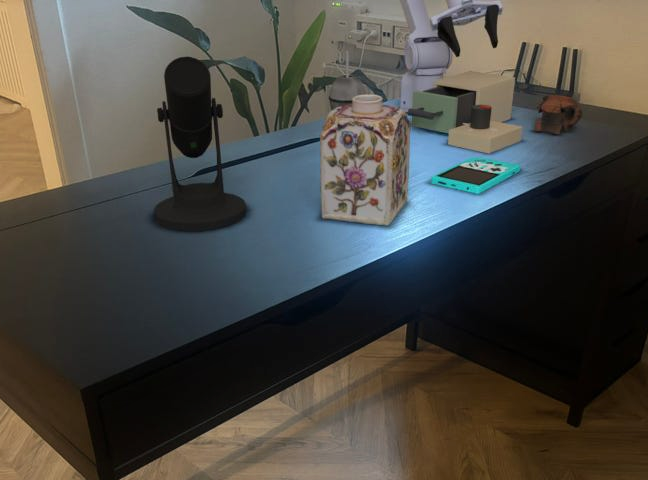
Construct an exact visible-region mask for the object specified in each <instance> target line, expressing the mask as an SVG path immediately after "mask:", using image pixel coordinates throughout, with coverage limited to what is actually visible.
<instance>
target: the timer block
mask: <svg viewBox="0 0 648 480" xmlns="http://www.w3.org/2000/svg"><path fill="white" fill-rule="evenodd" d="M463 124H466V125H463V126H460V127H457V128H454V129H451V130H449V134H448V138H447V139H448V140H447V145H448V146H452V147H457V148H462V149H467V150H470V151H476V152H478V153H479V152H480V153H484V154H487V155H488V154H492V153H494V152H497V151H499V150H502V149H505V148H507V147H509V146H512V145H514V144H517V143H519V142H522V135H523V126H521V125H515V124H510V123H505V122H495V121H490V127H489V128H488V129H474V128H471V127H470V123H468V124H467V123H463Z"/></svg>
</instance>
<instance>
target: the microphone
mask: <svg viewBox="0 0 648 480" xmlns="http://www.w3.org/2000/svg"><path fill="white" fill-rule="evenodd" d="M165 67H166V68H165V70H164V73H163V79H164V80H163V81H164V87H165V88H164V89H165V95H166V101H165V100H163V101H162V103H161V104H162V107H157V108H156V112H157V121H158V122H159V123H164V129H165V130H164V131H165V137H166V146H167V153H168V164H169V170H170V171H169V172H170V180H171V186H172V187H171V188H172V195H173V196H170V197H167V198H165V199H164V200H161V201H160V202H158V203H157V204H156V205H155V207H154V210H153V211H154V212H153V213H154V218H155V222H156V223H157V224H158V225H160V226H161V227H164V228H166V229H170V230H175V231H180V232H205V231H211V230H217V229H222V228H227V227H229V226H231V225H234V224H236V223H239V222H240V221H241V220H242V219H244V218H245V216H246V214H247V204H246V201H245V199H243V198H242V197H240V196H239V195H236V194H233V193H228V192H225V189H224V178H223V168H222V167H223V166H222V156H221V142H220V133H219V119H222V118H223V117H224V111H223V105H222V104H221V103H218V104H217V100H216V97H212V79H211V78H212V77H211V72H210V69H209V68H208V67H207V64H205V63H204V62H203V61H202V60H200V59H198V58H196V57H192V56H180V57H176V58H174V59H172V61H170V62H169V63H168V64H167V66H165ZM169 126H170V127H169ZM213 132H214V139H215V140H214V141H215V149H216V150H215V152H216V175H215V176H216V177H215V179H214V181H213V182H197V183H189V184H188V183H187V184H181V183H180V182H179V180H178V178H177V174H176V170H175V164H174V161H173V151H172V143H173V144H174V146H175V147H176V148H177V149H178V151H179V153H181V154H182V155H183V156H184V157H187V158H188V159H189V158H190V159H197V158H200V157H201V156H203V155H204V154H205V153H206V151H207V149H208V148H209V147H210V145H211V143H212V140H213ZM171 140H172V143H171Z"/></svg>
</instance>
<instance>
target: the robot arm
mask: <svg viewBox="0 0 648 480" xmlns="http://www.w3.org/2000/svg"><path fill="white" fill-rule="evenodd" d="M399 2H400V5H401V9H402V12H403V14H404V17H405V21H406V24H407V27H408V30H409V33H410V34H409V35H408V37H407V38H406V39H405V43H404V45H403V52H404V62H405V67H406V69H407V70H408V71H406V72H405V73H404V74H403V76H402V78H401V83H400V101H399V102H400V103H399V109H400V110H402V111H404V112H405V113H408V110H409V109H410V108H411V109H412V103H413V91H422V92H423V91H424V90H428V89H432V88H433V87H434V80H438V79H442V78H444V74H446V73H447V70H448V69H449V68H450V67H451V65H452V62H453V58H454V57H453V56H455V57H456V58H460V56H461V46H460V43H459V40H458V36H457V35H456V30H455V26H456V27H458V26H459V27H461V26H467V25H468V24H471V23H473V22H475V21H477V20H479V19H481V18H484V27H483V28H484V29H485V31H486V33H487V35H488V37H489V41H490V44H491V47H492V49H496V48H497V47H498V43H499V38H498V19H499V18H498V17H499V16H501V15H502V14H503V10H504V7H503V4H502V1H501V0H494V1H493V0H491V1H490V0H445V2H446V5H447V10H445V11H442V12H440V13H438V14H436V15H433V16H432V15H431V16H429V13H428V9H427V8H426V4H425V1H424V0H399Z"/></svg>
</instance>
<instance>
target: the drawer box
mask: <svg viewBox="0 0 648 480" xmlns="http://www.w3.org/2000/svg"><path fill="white" fill-rule="evenodd" d="M515 83H516V77H514V76H509V75H500V74H494V73H486V72H480V71H473V70H468V71H465V72H461V73H457V74H453V75H449V76H446V77H443V78H442V79H438V80H434V87H433V88H435V87H439V86H447V87H453V88H459V89H466V90H472V91H477V92H476V103H475V105H488V106H491V107H492V109H491V119H490V121H495V122H501V123H504V122H506V121H509V120H511V118H512V110H513V100H514V93H515Z"/></svg>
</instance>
